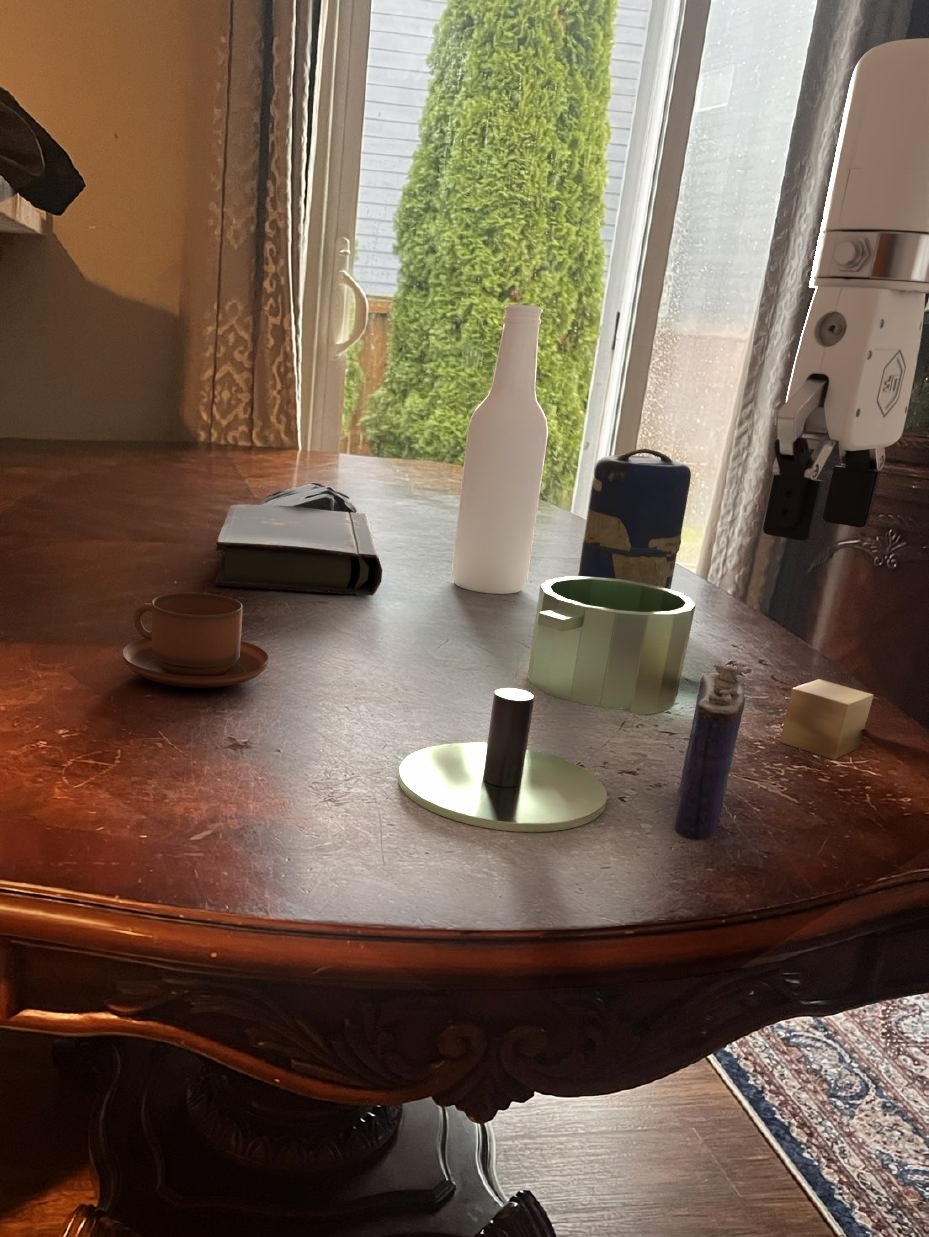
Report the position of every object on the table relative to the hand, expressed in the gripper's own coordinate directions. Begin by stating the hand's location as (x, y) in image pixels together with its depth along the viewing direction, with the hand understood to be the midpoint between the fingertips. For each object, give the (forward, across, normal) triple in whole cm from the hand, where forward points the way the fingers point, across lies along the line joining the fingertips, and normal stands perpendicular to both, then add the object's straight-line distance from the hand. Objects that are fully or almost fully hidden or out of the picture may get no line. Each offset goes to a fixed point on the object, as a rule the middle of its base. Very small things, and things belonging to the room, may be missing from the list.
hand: (816, 530), depth 83 cm
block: (+17, +5, -2) cm, 18 cm away
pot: (+17, +2, +16) cm, 23 cm away
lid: (+16, -24, +7) cm, 30 cm away
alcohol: (+17, +25, +46) cm, 55 cm away
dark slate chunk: (+16, +34, +86) cm, 94 cm away
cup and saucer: (+16, -25, +38) cm, 49 cm away
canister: (+17, +22, +28) cm, 39 cm away
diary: (+16, +11, +64) cm, 67 cm away
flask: (+17, -17, -3) cm, 24 cm away
